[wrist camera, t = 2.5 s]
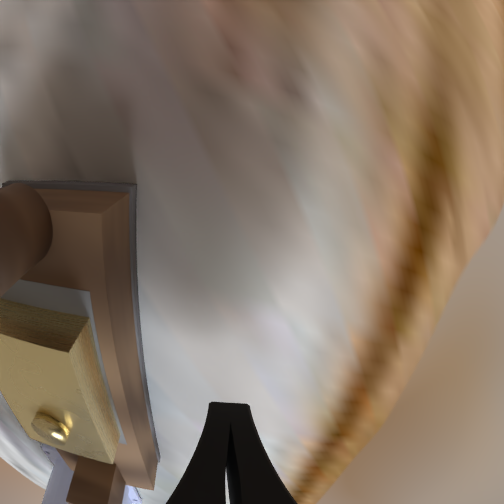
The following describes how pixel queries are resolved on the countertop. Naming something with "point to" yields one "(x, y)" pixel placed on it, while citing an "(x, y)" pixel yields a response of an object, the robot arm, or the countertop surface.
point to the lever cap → (56, 380)
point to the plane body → (87, 307)
